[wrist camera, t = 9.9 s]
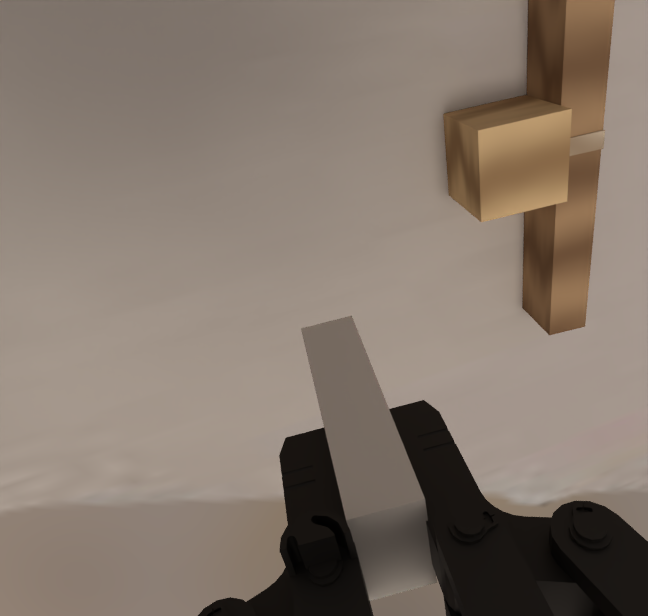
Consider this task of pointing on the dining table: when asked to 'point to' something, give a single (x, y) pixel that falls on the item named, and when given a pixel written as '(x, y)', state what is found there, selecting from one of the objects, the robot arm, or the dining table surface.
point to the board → (584, 161)
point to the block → (508, 156)
